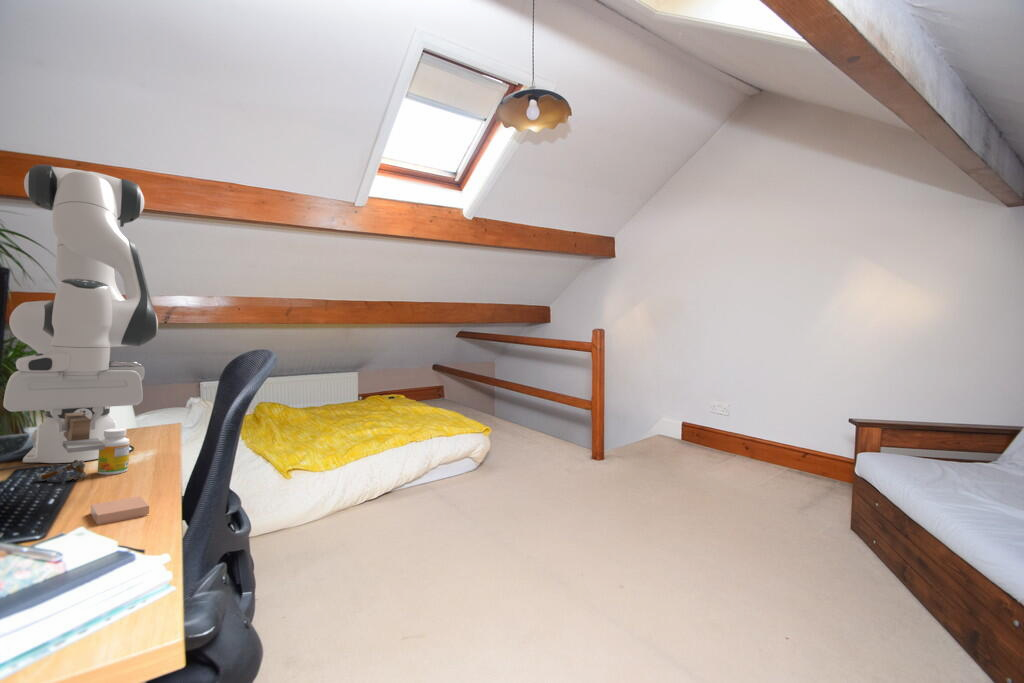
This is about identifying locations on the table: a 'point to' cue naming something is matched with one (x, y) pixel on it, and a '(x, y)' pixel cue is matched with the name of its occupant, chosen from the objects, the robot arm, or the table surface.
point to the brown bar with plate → (80, 434)
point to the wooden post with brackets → (66, 468)
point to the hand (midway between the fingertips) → (76, 430)
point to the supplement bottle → (114, 452)
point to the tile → (119, 510)
